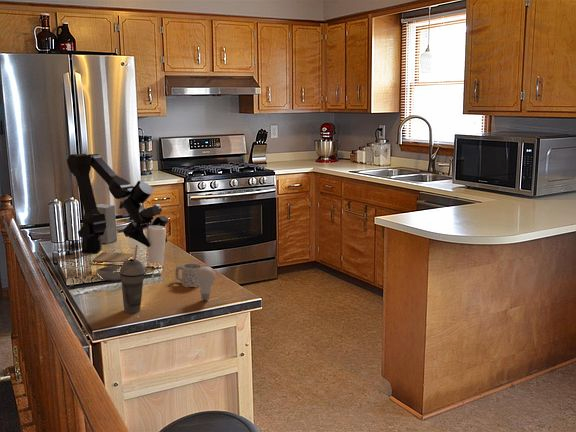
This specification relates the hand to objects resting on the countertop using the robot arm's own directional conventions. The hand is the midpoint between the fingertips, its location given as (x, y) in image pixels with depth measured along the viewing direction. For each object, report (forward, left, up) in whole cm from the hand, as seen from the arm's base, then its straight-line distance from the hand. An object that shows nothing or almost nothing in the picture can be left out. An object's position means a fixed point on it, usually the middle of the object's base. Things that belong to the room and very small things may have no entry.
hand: (158, 244), depth 219 cm
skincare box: (-30, +35, -9) cm, 47 cm away
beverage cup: (+2, -46, -9) cm, 47 cm away
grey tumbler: (-1, 0, -9) cm, 9 cm away
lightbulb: (+22, -34, -9) cm, 42 cm away
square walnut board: (-18, +6, -9) cm, 21 cm away
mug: (+14, -18, -9) cm, 25 cm away
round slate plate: (-12, -12, -9) cm, 19 cm away
